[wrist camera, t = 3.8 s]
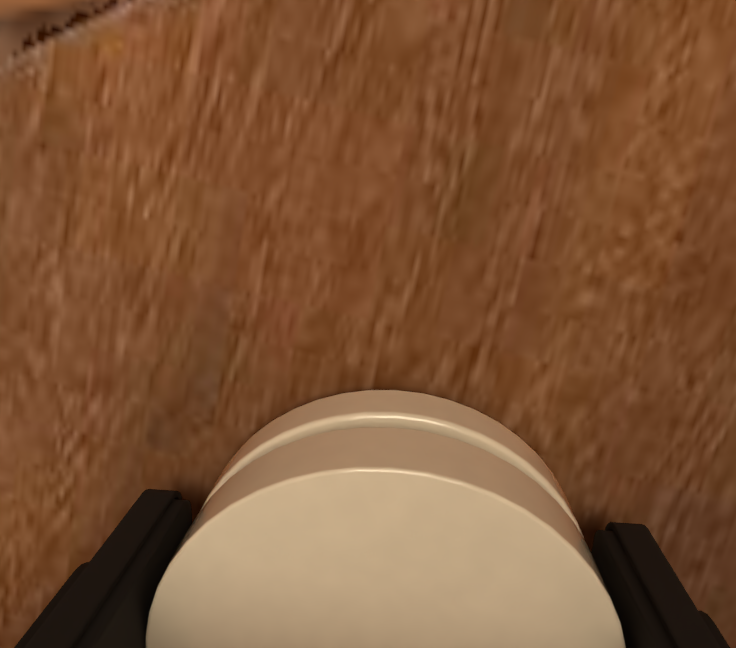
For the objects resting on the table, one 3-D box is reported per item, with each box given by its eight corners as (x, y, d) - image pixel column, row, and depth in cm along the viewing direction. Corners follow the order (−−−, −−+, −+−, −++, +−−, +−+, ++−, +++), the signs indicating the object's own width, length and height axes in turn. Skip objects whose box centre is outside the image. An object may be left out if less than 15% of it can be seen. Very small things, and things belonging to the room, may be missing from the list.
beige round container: (598, 390, 10) (671, 488, 7) (548, 702, 12) (591, 875, 9) (202, 367, 11) (124, 451, 8) (216, 673, 13) (158, 830, 10)
